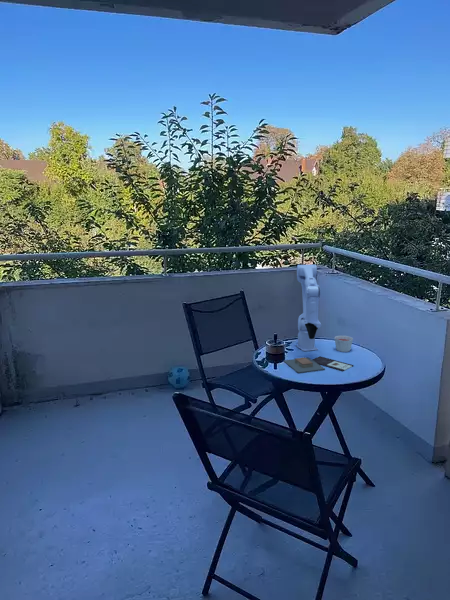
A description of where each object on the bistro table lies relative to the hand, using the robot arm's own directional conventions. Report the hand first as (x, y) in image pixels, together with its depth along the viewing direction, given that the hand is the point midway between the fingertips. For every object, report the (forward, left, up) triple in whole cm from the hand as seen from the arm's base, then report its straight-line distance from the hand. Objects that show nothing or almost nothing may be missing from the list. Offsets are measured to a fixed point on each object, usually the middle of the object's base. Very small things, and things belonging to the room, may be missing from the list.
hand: (311, 338), depth 199 cm
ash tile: (+4, -8, -8) cm, 12 cm away
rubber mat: (+8, -8, -10) cm, 15 cm away
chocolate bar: (+10, +5, -11) cm, 15 cm away
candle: (-6, +21, -10) cm, 24 cm away
